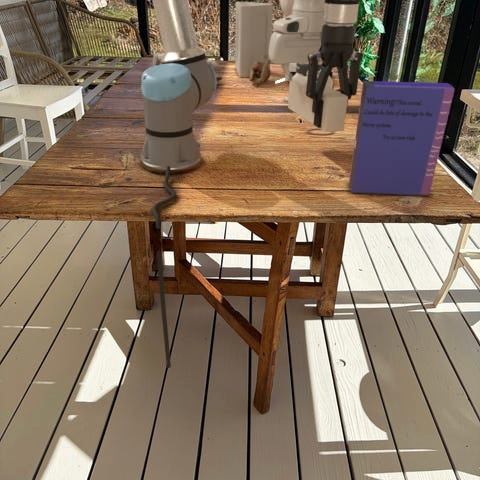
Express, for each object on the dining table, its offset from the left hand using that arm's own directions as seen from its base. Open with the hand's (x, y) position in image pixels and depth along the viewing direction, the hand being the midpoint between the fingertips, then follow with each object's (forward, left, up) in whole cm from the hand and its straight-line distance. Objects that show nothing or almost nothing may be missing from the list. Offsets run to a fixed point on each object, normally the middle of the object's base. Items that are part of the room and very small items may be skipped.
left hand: (327, 124), depth 120 cm
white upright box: (+104, +36, -10) cm, 110 cm away
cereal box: (-14, -15, -10) cm, 23 cm away
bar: (+7, +4, -1) cm, 8 cm away
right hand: (+13, +7, +8) cm, 17 cm away
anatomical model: (+83, +31, -10) cm, 89 cm away
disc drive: (+97, +12, -10) cm, 98 cm away
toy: (+105, +69, -10) cm, 126 cm away
